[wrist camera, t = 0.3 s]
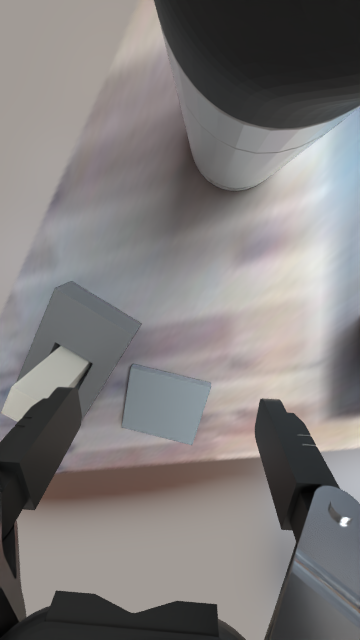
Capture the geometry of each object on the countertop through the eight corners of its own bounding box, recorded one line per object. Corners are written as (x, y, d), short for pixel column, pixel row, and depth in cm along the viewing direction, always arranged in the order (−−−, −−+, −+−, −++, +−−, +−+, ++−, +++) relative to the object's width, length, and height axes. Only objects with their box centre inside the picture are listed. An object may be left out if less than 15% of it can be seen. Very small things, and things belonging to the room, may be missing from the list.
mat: (133, 363, 33) (130, 367, 32) (210, 382, 33) (210, 387, 32) (123, 422, 38) (121, 427, 37) (192, 439, 37) (192, 445, 36)
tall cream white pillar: (72, 335, 33) (11, 386, 23) (98, 350, 33) (50, 407, 23) (62, 356, 34) (0, 413, 24) (87, 370, 35) (37, 432, 24)
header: (71, 281, 30) (55, 288, 26) (141, 323, 31) (133, 335, 28) (28, 379, 36) (11, 394, 33) (87, 411, 38) (75, 429, 34)
